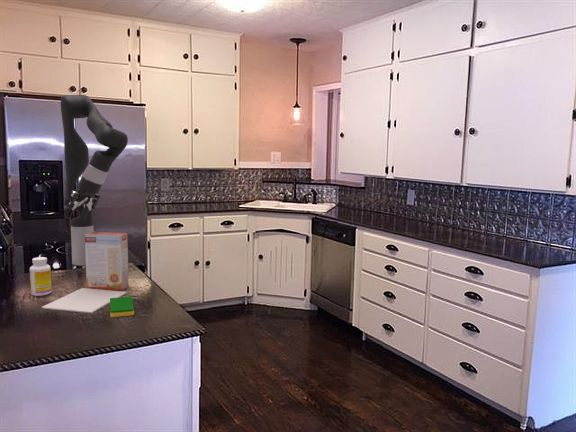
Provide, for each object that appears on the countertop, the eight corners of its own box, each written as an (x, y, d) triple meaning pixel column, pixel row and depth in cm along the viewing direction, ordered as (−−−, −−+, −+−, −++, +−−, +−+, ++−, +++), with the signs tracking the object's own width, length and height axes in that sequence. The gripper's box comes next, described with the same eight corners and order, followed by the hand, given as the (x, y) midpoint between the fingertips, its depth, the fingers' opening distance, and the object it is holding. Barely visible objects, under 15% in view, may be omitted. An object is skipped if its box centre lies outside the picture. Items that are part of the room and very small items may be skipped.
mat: (82, 289, 178) (82, 287, 178) (127, 293, 175) (126, 291, 175) (41, 308, 157) (41, 307, 157) (91, 313, 154) (91, 311, 154)
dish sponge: (110, 318, 151) (110, 311, 150) (110, 304, 163) (109, 297, 163) (134, 316, 153) (134, 309, 153) (132, 302, 166) (131, 296, 166)
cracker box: (129, 286, 183) (128, 232, 180) (122, 291, 177) (121, 235, 174) (94, 284, 184) (92, 230, 181) (86, 289, 178) (84, 233, 175)
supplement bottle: (56, 292, 173) (54, 257, 171) (39, 297, 167) (37, 261, 166) (43, 289, 176) (41, 255, 174) (26, 294, 170) (24, 259, 168)
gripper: (97, 176, 183) (79, 213, 184) (72, 172, 169) (53, 212, 171) (112, 185, 181) (94, 222, 183) (88, 182, 167) (69, 222, 169)
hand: (74, 217), depth 177 cm, fingers open, 8 cm apart
